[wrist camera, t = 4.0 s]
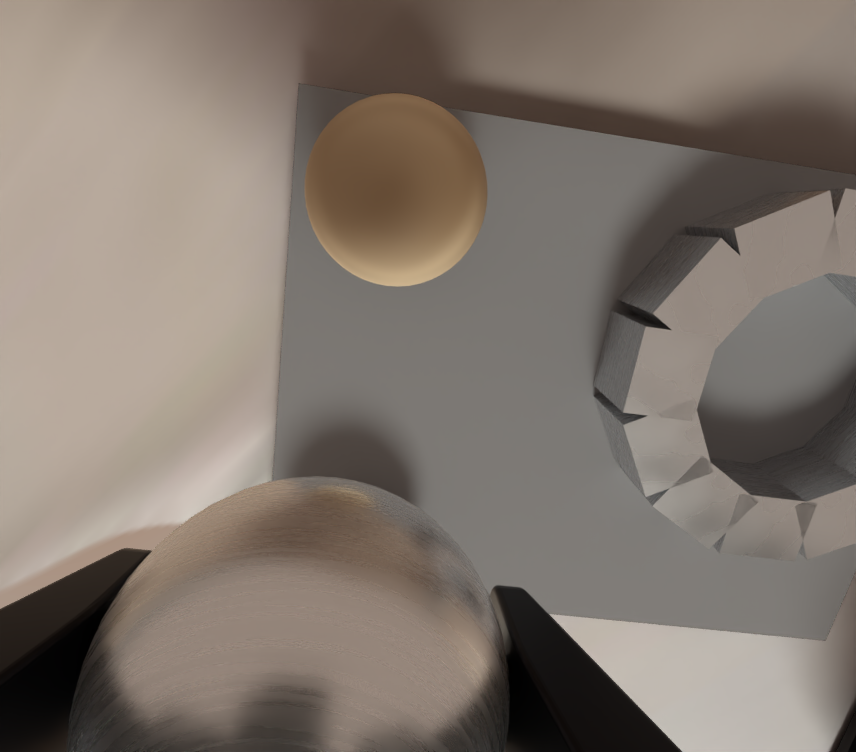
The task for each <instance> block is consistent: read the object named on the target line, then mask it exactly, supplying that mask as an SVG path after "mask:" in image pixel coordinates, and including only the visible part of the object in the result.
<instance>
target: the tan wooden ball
mask: <svg viewBox="0 0 856 752" xmlns="http://www.w3.org/2000/svg"><path fill="white" fill-rule="evenodd" d="M487 196H488V193H487V178H486V171H485V167H484V164H483V160H482V157H481V155H480V152H479V150H478V147H477V145H476V144H475V142H474V140H473V138H472V137H471V135H470V134H469V132H468V131H467V130H466V128H465V127H464V126H463V125H462V124H461V123H460V122H459V121H458V120H457V119H456V118H455V117H454V116H453V115H452V114H451V113H449V112H448V111H447V110H445V109H444V108H443V107H441V106H439V105H437V104H435V103H434V102H432V101H429V100H427V99H424V98H422V97H418V96H414V95H410V94H400V93H388V94H379V95H375V96H370V97H367V98H365V99H362V100H359V101H357V102H355V103H353V104H352V105H350V106H348V107H346V108H345V109H344V110H342V111H341V112H340V113H338V114H337V115H336V116H335V117H334V118H333V119H332V120H331V121H330V122H329V123H328V124H327V126H326V127H325V128H324V129H323V131H322V132H321V134H320V135H319V137H318V139H317V140H316V142H315V144H314V146H313V149H312V151H311V154H310V156H309V160H308V164H307V168H306V175H305V202H306V208H307V212H308V216H309V220H310V222H311V225H312V228H313V230H314V232H315V234H316V236H317V238H318V240H319V241H320V243H321V244H322V246H323V247H324V249H325V250H326V251H327V253H328V254H329V255H330V256H331V257H332V258H333V259H334V260H335V261H336V262H337V263H338V264H339V265H341V266H342V267H343V268H344V269H346V270H347V271H349V272H350V273H352V274H353V275H355V276H357V277H359V278H361V279H363V280H366V281H369V282H372V283H375V284H380V285H384V286H396V287H399V286H411V285H416V284H420V283H423V282H426V281H429V280H432V279H434V278H436V277H438V276H440V275H442V274H443V273H445V272H446V271H448V270H449V269H451V268H452V267H453V266H454V265H455V264H456V263H458V262H459V261H460V260H461V259H462V257H463V256H464V255H465V254H466V253H467V252H468V250H469V249H470V247H471V246H472V244H473V243H474V241H475V239H476V237H477V235H478V233H479V231H480V229H481V226H482V223H483V220H484V216H485V212H486V206H487Z"/></svg>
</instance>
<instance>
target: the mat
mask: <svg viewBox="0 0 856 752" xmlns="http://www.w3.org/2000/svg"><path fill="white" fill-rule="evenodd" d="M370 96H373V95H367V94H361V93H355V92H349V91H343V90H337V89H331V88H325V87H319V86H312V85H306V84H300V83H299V87H298V102H297V117H296V132H295V148H294V163H293V178H292V193H291V209H290V224H289V239H288V254H287V269H286V285H285V300H284V315H283V330H282V346H281V361H280V376H279V391H278V406H277V422H276V437H275V452H274V467H273V481H277V480H283V479H288V478H299V477H314V476H319V477H337V478H343V479H349V480H355V481H359V482H363V483H366V484H370V485H373V486H376V487H379V488H381V489H384V490H386V491H388V492H391V493H393V494H395V495H397V496H399V497H401V498H403V499H404V500H406V501H408V502H409V503H411V504H413V505H415V506H416V507H418V508H420V509H421V510H422V511H424V512H425V513H426V514H427V515H429V516H430V517H431V518H433V519H434V520H435V521H437V522H438V523H439V524H440V525H441V527H442V528H443V529H444V530H445V531H446V532H447V533H448V534H449V535H450V536H451V537H452V538H453V539H454V540H455V541H456V542H457V543H458V545H459V546H460V547H461V548H462V550H463V551H464V553H465V554H466V555H467V557H468V558H469V559H470V561H471V562H472V564H473V565H474V567H475V569H476V571H477V573H478V575H479V577H480V578H481V580H482V582H483V584H484V586H485V588H486V590H487V591H488V593H489V595H490V593H491V590H492V589H493V587H494V586H496V585H503V586H514V587H521V588H523V589H524V590H526V591H527V592H528V593H529V594H530V595H531V596H532V597H533V598H534V599H535V600H536V601H537V602H538V604H539V605H540V606H541V607H542V608H543V609H544V610H545V611H546V612H547V613H548V614H556V615H566V616H576V617H586V618H597V619H607V620H617V621H628V622H638V623H648V624H658V625H669V626H679V627H689V628H699V629H710V630H720V631H730V632H741V633H751V634H761V635H771V636H782V637H792V638H802V639H812V640H823V641H826V639H827V636H828V634H829V632H830V629H831V627H832V625H833V622H834V620H835V618H836V616H837V613H838V611H839V609H840V606H841V604H842V602H843V600H844V597H845V595H846V593H847V590H848V588H849V586H850V583H851V581H852V579H853V577H854V574H855V572H856V543H855V544H852V545H849V546H846V547H843V548H840V549H837V550H834V551H831V552H828V553H825V554H822V555H820V556H817V557H814V558H811V559H808V560H807V559H806V558H804V557H803V556H802V555H801V554H800V553H799V552H798V554H797V557H796V559H795V561H787V560H778V559H769V558H760V557H750V556H741V555H732V554H723V553H719V552H718V551H717V550H716V549H715V548H714V547H713V546H711V547H710V548H709V549H708V548H707V547H705V546H704V545H703V544H701V543H700V542H699V541H697V540H696V539H695V538H693V537H692V536H691V535H690V534H688V533H687V532H686V531H684V530H683V529H682V528H680V527H679V526H678V525H676V524H675V523H674V522H672V521H671V520H670V519H669V518H667V517H666V516H665V515H663V514H662V513H661V512H659V511H658V510H657V509H655V508H654V507H653V506H652V505H651V504H650V503H649V502H648V500H647V499H646V498H645V497H644V496H643V494H642V493H641V492H640V491H639V490H638V488H637V487H636V486H635V485H634V484H633V482H632V481H631V480H630V479H629V478H628V476H627V475H626V474H625V473H624V472H623V470H622V469H621V468H620V466H619V464H618V463H617V462H616V461H615V460H614V458H613V455H612V452H611V449H610V446H609V442H608V439H607V436H606V433H605V430H604V427H603V424H602V421H601V418H600V415H599V412H598V409H597V406H596V403H595V400H594V397H593V396H594V395H596V394H599V393H601V392H600V391H599V390H598V389H597V388H596V387H595V386H594V385H593V382H594V378H595V374H596V370H597V366H598V361H599V357H600V353H601V349H602V345H603V341H604V337H605V332H606V328H607V324H608V320H609V316H610V312H611V310H613V311H620V312H627V313H633V312H631V311H630V310H629V309H628V308H627V307H626V306H624V305H623V304H622V303H621V302H620V301H619V300H617V298H618V297H619V296H620V295H621V294H622V292H623V291H624V290H625V289H626V288H627V287H628V286H629V284H630V283H631V282H632V281H633V280H634V279H635V278H636V277H637V275H638V274H639V273H640V272H641V271H642V270H643V269H644V267H645V266H646V265H647V264H648V263H649V262H650V261H651V259H652V258H653V257H654V256H655V255H656V254H657V253H658V251H659V250H660V249H661V248H662V247H663V246H664V245H665V243H666V242H667V241H668V240H669V239H670V238H671V237H672V235H686V231H685V226H687V225H690V224H692V223H695V222H697V221H700V220H702V219H704V218H707V217H709V216H712V215H714V214H717V213H719V212H722V211H724V210H727V209H729V208H732V207H734V206H737V205H739V204H742V203H744V202H747V201H749V200H752V199H754V198H757V197H759V196H762V195H764V194H777V193H781V192H797V191H812V190H828V189H843V188H846V189H852V190H856V175H855V174H849V173H842V172H836V171H830V170H824V169H818V168H812V167H806V166H800V165H794V164H788V163H782V162H775V161H769V160H763V159H757V158H751V157H745V156H739V155H733V154H727V153H721V152H715V151H708V150H702V149H696V148H690V147H684V146H678V145H672V144H666V143H660V142H654V141H648V140H641V139H635V138H629V137H623V136H617V135H611V134H605V133H599V132H593V131H587V130H580V129H574V128H568V127H562V126H556V125H550V124H544V123H538V122H532V121H526V120H520V119H513V118H507V117H501V116H495V115H489V114H483V113H477V112H471V111H465V110H459V109H453V108H446V107H443V108H444V109H445V110H447V111H448V112H449V113H451V114H452V115H453V116H454V117H455V118H456V119H457V120H458V121H459V122H460V123H461V124H462V125H463V126H464V127H465V128H466V130H467V131H468V132H469V134H470V135H471V137H472V138H473V140H474V142H475V144H476V145H477V147H478V150H479V152H480V155H481V157H482V160H483V164H484V167H485V171H486V178H487V193H488V196H487V206H486V212H485V216H484V220H483V223H482V226H481V229H480V231H479V233H478V235H477V237H476V239H475V241H474V243H473V244H472V246H471V247H470V249H469V250H468V252H467V253H466V254H465V255H464V256H463V257H462V259H461V260H460V261H459V262H458V263H456V264H455V265H454V266H453V267H452V268H451V269H449V270H448V271H446V272H445V273H443V274H442V275H440V276H438V277H436V278H434V279H432V280H429V281H426V282H423V283H420V284H416V285H411V286H399V287H396V286H384V285H380V284H375V283H372V282H369V281H366V280H363V279H361V278H359V277H357V276H355V275H353V274H352V273H350V272H349V271H347V270H346V269H344V268H343V267H342V266H341V265H339V264H338V263H337V262H336V261H335V260H334V259H333V258H332V257H331V256H330V255H329V254H328V253H327V251H326V250H325V249H324V247H323V246H322V244H321V243H320V241H319V240H318V238H317V236H316V234H315V232H314V230H313V228H312V225H311V222H310V220H309V216H308V212H307V208H306V202H305V175H306V168H307V164H308V160H309V156H310V154H311V151H312V149H313V146H314V144H315V142H316V140H317V139H318V137H319V135H320V134H321V132H322V131H323V129H324V128H325V127H326V126H327V124H328V123H329V122H330V121H331V120H332V119H333V118H334V117H335V116H336V115H337V114H338V113H340V112H341V111H342V110H344V109H345V108H346V107H348V106H350V105H352V104H353V103H355V102H357V101H359V100H362V99H365V98H367V97H370ZM855 377H856V307H855V306H854V305H853V304H852V303H851V302H850V301H849V300H848V299H847V298H846V297H845V296H844V295H843V294H842V293H841V292H840V291H839V290H838V289H837V288H836V287H835V286H834V285H833V284H832V283H831V282H829V281H828V280H827V279H826V278H825V277H824V276H823V275H822V276H820V277H817V278H814V279H812V280H809V281H807V282H804V283H802V284H799V285H796V286H794V287H791V288H789V289H786V290H783V291H781V292H778V293H776V294H773V295H770V296H768V297H765V298H763V299H762V300H761V301H760V302H759V304H758V305H757V306H756V307H755V308H754V309H753V310H752V311H751V312H750V313H749V314H748V315H747V316H746V317H745V318H744V319H743V320H742V321H741V323H740V324H739V325H738V326H737V327H736V328H735V329H734V330H733V331H732V332H731V333H730V334H729V335H728V336H727V337H726V338H725V339H724V340H723V341H722V343H721V344H720V345H719V346H718V347H717V348H716V349H715V351H714V354H713V358H712V361H711V364H710V368H709V371H708V374H707V377H706V381H705V384H704V387H703V391H702V394H701V397H700V400H699V404H698V407H697V413H698V417H699V420H700V424H701V428H702V432H703V435H704V439H705V443H706V447H707V450H708V454H709V458H714V459H722V460H730V461H738V462H747V463H756V462H759V461H761V460H764V459H767V458H770V457H773V456H775V455H778V454H781V453H784V452H786V451H789V450H792V449H795V448H797V447H800V446H803V445H805V444H806V443H807V442H808V441H809V440H810V439H811V438H812V437H813V436H814V435H815V434H816V433H817V432H818V431H819V430H820V429H821V428H822V427H823V426H824V425H825V424H826V423H828V422H829V421H830V420H831V419H832V418H833V417H834V416H835V415H836V414H837V413H838V412H839V411H840V410H841V409H842V408H843V407H844V405H845V403H846V400H847V397H848V395H849V392H850V390H851V387H852V385H853V382H854V379H855Z"/></svg>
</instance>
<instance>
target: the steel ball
mask: <svg viewBox="0 0 856 752" xmlns="http://www.w3.org/2000/svg"><path fill="white" fill-rule="evenodd" d="M509 700H510V695H509V671H508V664H507V657H506V651H505V645H504V640H503V634H502V631H501V628H500V624H499V621H498V618H497V615H496V612H495V609H494V606H493V604H492V601H491V598H490V595H489V593H488V591H487V590H486V588H485V586H484V584H483V582H482V580H481V578H480V577H479V575H478V573H477V571H476V569H475V567H474V565H473V564H472V562H471V561H470V559H469V558H468V557H467V555H466V554H465V553H464V551H463V550H462V548H461V547H460V546H459V545H458V543H457V542H456V541H455V540H454V539H453V538H452V537H451V536H450V535H449V534H448V533H447V532H446V531H445V530H444V529H443V528H442V527H441V525H440V524H439V523H438V522H437V521H435V520H434V519H433V518H431V517H430V516H429V515H427V514H426V513H425V512H424V511H422V510H421V509H420V508H418V507H416V506H415V505H413V504H411V503H409V502H408V501H406V500H404V499H403V498H401V497H399V496H397V495H395V494H393V493H391V492H388V491H386V490H384V489H381V488H379V487H376V486H373V485H370V484H366V483H363V482H359V481H355V480H349V479H343V478H337V477H319V476H314V477H299V478H288V479H283V480H277V481H272V482H267V483H263V484H260V485H257V486H254V487H250V488H247V489H244V490H242V491H240V492H238V493H236V494H233V495H231V496H229V497H227V498H225V499H223V500H220V501H218V502H216V503H214V504H212V505H210V506H208V507H207V508H205V509H204V510H202V511H201V512H199V513H197V514H196V515H194V516H193V517H191V518H190V519H189V520H187V521H186V522H185V523H183V524H182V525H181V526H179V527H178V528H177V529H176V530H174V531H173V532H172V533H171V534H170V535H169V536H168V537H166V538H165V539H164V540H163V541H162V542H160V543H159V544H158V545H157V546H156V547H155V548H154V549H153V551H152V552H151V553H150V554H149V555H148V556H147V557H146V558H145V559H144V560H143V562H142V563H141V564H140V565H139V566H138V567H137V569H136V570H135V571H134V572H133V573H132V574H131V575H130V577H129V578H128V579H127V581H126V582H125V584H124V585H123V587H122V588H121V590H120V591H119V593H118V594H117V596H116V597H115V599H114V601H113V602H112V604H111V605H110V607H109V609H108V610H107V612H106V614H105V615H104V617H103V618H102V620H101V622H100V625H99V627H98V629H97V631H96V634H95V636H94V638H93V640H92V643H91V645H90V647H89V650H88V652H87V655H86V657H85V660H84V662H83V665H82V668H81V671H80V675H79V679H78V682H77V686H76V690H75V693H74V698H73V703H72V708H71V713H70V719H69V729H68V739H67V752H504V751H505V745H506V739H507V733H508V726H509Z"/></svg>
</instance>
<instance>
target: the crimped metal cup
mask: <svg viewBox="0 0 856 752" xmlns="http://www.w3.org/2000/svg"><path fill="white" fill-rule="evenodd" d="M685 231H686V235H672V237H671V238H670V239H669V240H668V241H667V242H666V243H665V245H664V246H663V247H662V248H661V249H660V250H659V251H658V253H657V254H656V255H655V256H654V257H653V258H652V259H651V261H650V262H649V263H648V264H647V265H646V266H645V267H644V269H643V270H642V271H641V272H640V273H639V274H638V275H637V277H636V278H635V279H634V280H633V281H632V282H631V283H630V284H629V286H628V287H627V288H626V289H625V290H624V291H623V292H622V294H621V295H620V296H619V297H618V298H617V300H619V301H620V302H621V303H622V304H623V305H624V306H626V307H627V308H628V309H629V310H630V311H631V312H633V313H627V312H620V311H613V310H611V312H610V316H609V320H608V324H607V328H606V332H605V337H604V341H603V345H602V349H601V353H600V357H599V361H598V366H597V370H596V374H595V378H594V382H593V385H594V386H595V387H596V388H597V389H598V390H599V391H600V392H601V393H599V394H596V395H594V396H593V397H594V400H595V403H596V406H597V409H598V412H599V415H600V418H601V421H602V424H603V427H604V430H605V433H606V436H607V439H608V442H609V446H610V449H611V452H612V455H613V458H614V460H615V461H616V462H617V463H618V464H619V466H620V468H621V469H622V470H623V472H624V473H625V474H626V475H627V476H628V478H629V479H630V480H631V481H632V482H633V484H634V485H635V486H636V487H637V488H638V490H639V491H640V492H641V493H642V494H643V496H644V497H645V498H646V499H647V500H648V502H649V503H650V504H651V505H652V506H653V507H654V508H655V509H657V510H658V511H659V512H661V513H662V514H663V515H665V516H666V517H667V518H669V519H670V520H671V521H672V522H674V523H675V524H676V525H678V526H679V527H680V528H682V529H683V530H684V531H686V532H687V533H688V534H690V535H691V536H692V537H693V538H695V539H696V540H697V541H699V542H700V543H701V544H703V545H704V546H705V547H707V548H708V549H709V548H710V547H711V546H713V547H714V548H715V549H716V550H717V551H718V552H719V553H723V554H732V555H741V556H750V557H760V558H769V559H778V560H787V561H795V559H796V557H797V554H798V552H799V553H800V554H801V555H802V556H803V557H804V558H806V559H807V560H808V559H811V558H814V557H817V556H820V555H822V554H825V553H828V552H831V551H834V550H837V549H840V548H843V547H846V546H849V545H852V544H855V543H856V377H855V379H854V382H853V385H852V387H851V390H850V392H849V395H848V397H847V400H846V403H845V405H844V407H843V408H842V409H841V410H840V411H839V412H838V413H837V414H836V415H835V416H834V417H833V418H832V419H831V420H830V421H829V422H828V423H826V424H825V425H824V426H823V427H822V428H821V429H820V430H819V431H818V432H817V433H816V434H815V435H814V436H813V437H812V438H811V439H810V440H809V441H808V442H807V443H806V444H805V445H803V446H800V447H797V448H795V449H792V450H789V451H786V452H784V453H781V454H778V455H775V456H773V457H770V458H767V459H764V460H761V461H759V462H756V463H747V462H738V461H730V460H722V459H714V458H709V454H708V450H707V447H706V443H705V439H704V435H703V432H702V428H701V424H700V420H699V417H698V413H697V407H698V404H699V400H700V397H701V394H702V391H703V387H704V384H705V381H706V377H707V374H708V371H709V368H710V364H711V361H712V358H713V354H714V351H715V349H716V348H717V347H718V346H719V345H720V344H721V343H722V341H723V340H724V339H725V338H726V337H727V336H728V335H729V334H730V333H731V332H732V331H733V330H734V329H735V328H736V327H737V326H738V325H739V324H740V323H741V321H742V320H743V319H744V318H745V317H746V316H747V315H748V314H749V313H750V312H751V311H752V310H753V309H754V308H755V307H756V306H757V305H758V304H759V302H760V301H761V300H762V299H763V298H765V297H768V296H770V295H773V294H776V293H778V292H781V291H783V290H786V289H789V288H791V287H794V286H796V285H799V284H802V283H804V282H807V281H809V280H812V279H814V278H817V277H820V276H822V275H823V276H824V277H825V278H826V279H827V280H828V281H829V282H831V283H832V284H833V285H834V286H835V287H836V288H837V289H838V290H839V291H840V292H841V293H842V294H843V295H844V296H845V297H846V298H847V299H848V300H849V301H850V302H851V303H852V304H853V305H854V306H855V307H856V190H852V189H846V188H843V189H828V190H812V191H797V192H781V193H777V194H764V195H762V196H759V197H757V198H754V199H752V200H749V201H747V202H744V203H742V204H739V205H737V206H734V207H732V208H729V209H727V210H724V211H722V212H719V213H717V214H714V215H712V216H709V217H707V218H704V219H702V220H700V221H697V222H695V223H692V224H690V225H687V226H685Z"/></svg>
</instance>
